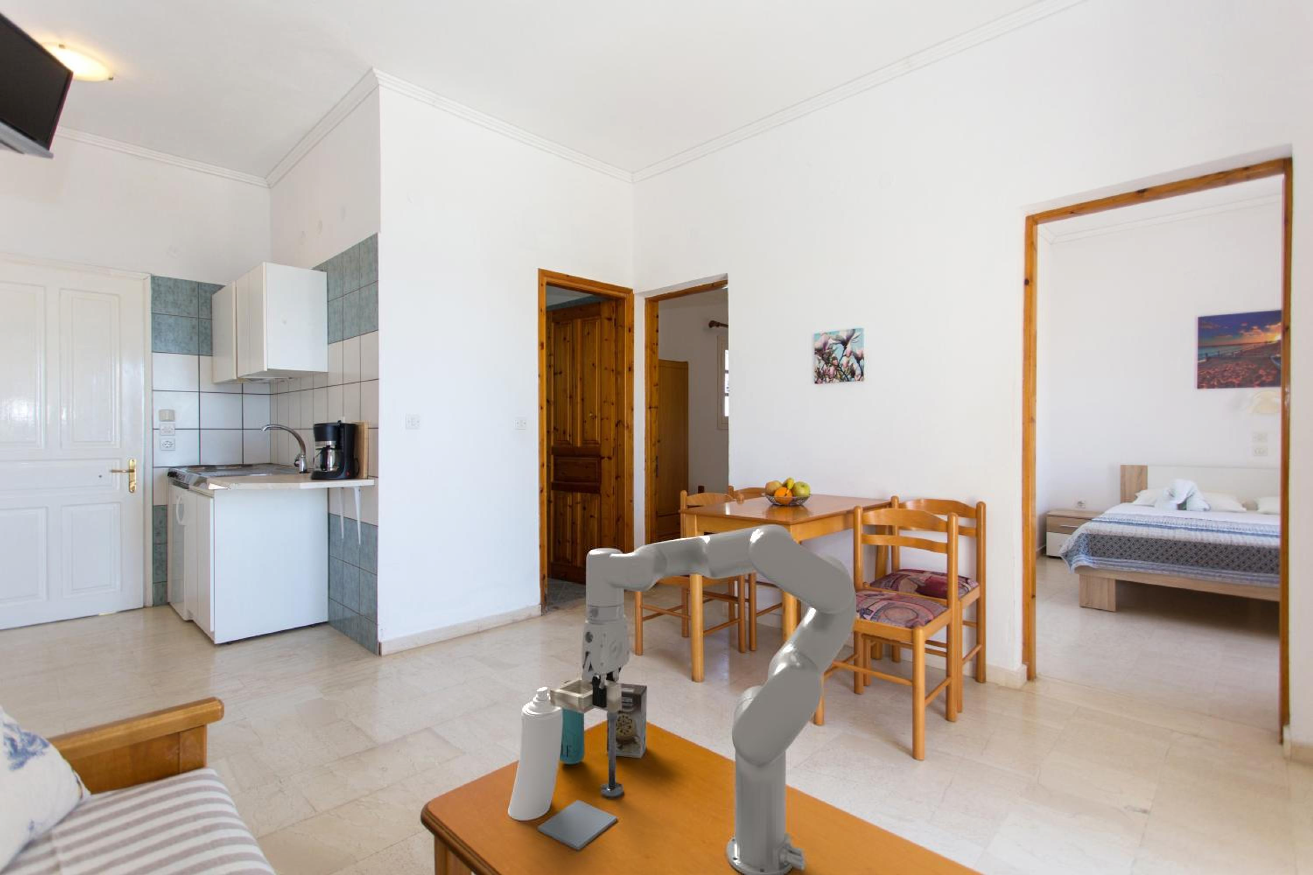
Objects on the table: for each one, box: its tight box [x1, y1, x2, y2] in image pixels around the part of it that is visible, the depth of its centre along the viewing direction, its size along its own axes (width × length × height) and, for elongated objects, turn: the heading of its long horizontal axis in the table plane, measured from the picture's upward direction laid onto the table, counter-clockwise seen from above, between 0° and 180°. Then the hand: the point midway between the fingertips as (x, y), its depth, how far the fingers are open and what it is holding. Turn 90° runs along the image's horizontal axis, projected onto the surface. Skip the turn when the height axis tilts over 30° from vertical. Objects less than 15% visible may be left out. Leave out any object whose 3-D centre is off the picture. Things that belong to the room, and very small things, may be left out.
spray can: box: [507, 687, 563, 821], centre depth 138 cm, size 12×11×25 cm
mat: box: [537, 799, 618, 851], centre depth 131 cm, size 11×12×1 cm
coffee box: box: [606, 682, 648, 759], centre depth 162 cm, size 9×6×16 cm
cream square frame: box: [549, 676, 622, 715], centre depth 129 cm, size 14×9×5 cm, turn 55°
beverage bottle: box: [559, 680, 586, 765], centre depth 155 cm, size 6×7×20 cm
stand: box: [600, 711, 624, 799], centre depth 143 cm, size 5×5×19 cm
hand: (604, 702), depth 127 cm, fingers closed on cream square frame
